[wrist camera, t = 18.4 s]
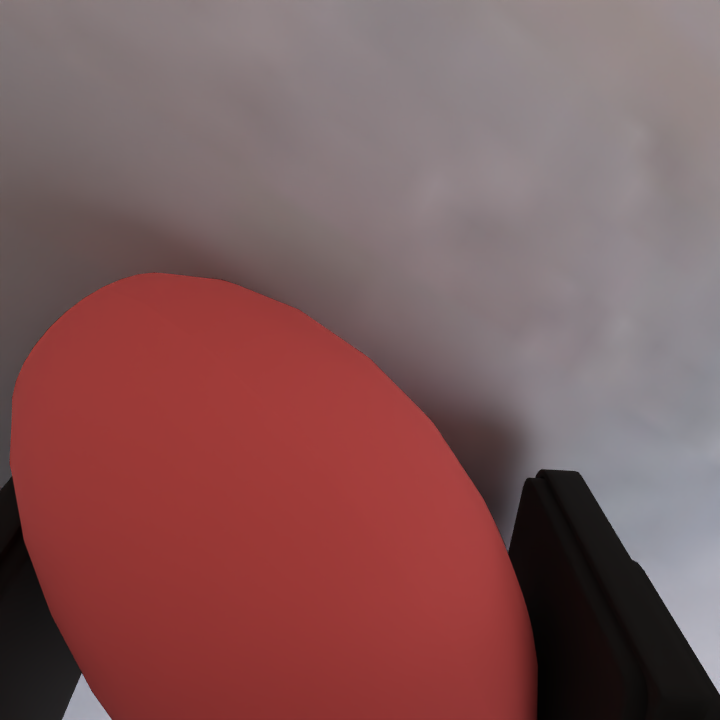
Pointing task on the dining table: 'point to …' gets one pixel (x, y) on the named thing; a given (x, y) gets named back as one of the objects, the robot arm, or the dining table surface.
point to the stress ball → (256, 520)
